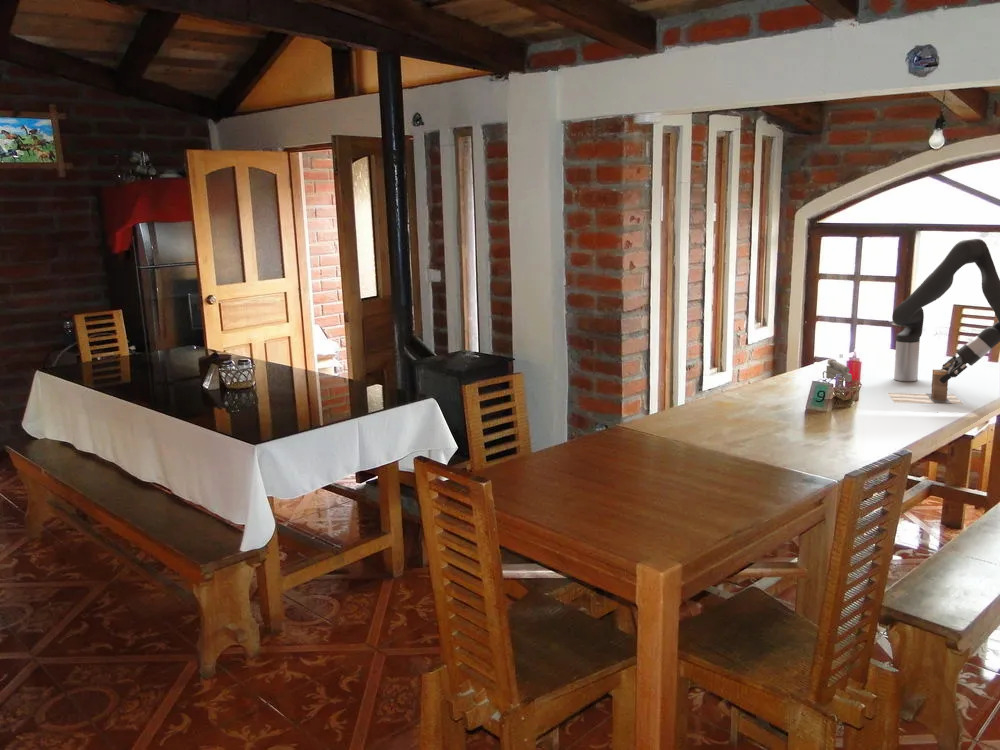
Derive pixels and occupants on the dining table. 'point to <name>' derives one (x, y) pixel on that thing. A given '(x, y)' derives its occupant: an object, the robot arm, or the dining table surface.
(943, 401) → the subfloor panel
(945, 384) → the walnut block
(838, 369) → the geiger counter
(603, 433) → the dining table surface
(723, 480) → the dining table surface
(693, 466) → the dining table surface
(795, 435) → the dining table surface
